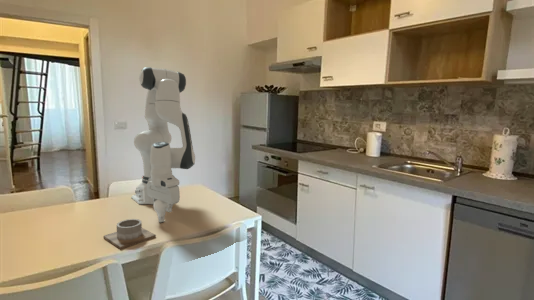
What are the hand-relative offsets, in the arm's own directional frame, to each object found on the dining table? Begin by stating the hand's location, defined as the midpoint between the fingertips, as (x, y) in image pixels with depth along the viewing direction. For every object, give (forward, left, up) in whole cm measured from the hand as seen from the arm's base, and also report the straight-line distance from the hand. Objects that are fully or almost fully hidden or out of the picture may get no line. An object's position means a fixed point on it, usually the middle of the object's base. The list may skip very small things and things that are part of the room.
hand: (163, 209), depth 134 cm
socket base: (+4, -18, -6) cm, 19 cm away
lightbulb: (-1, -1, -6) cm, 6 cm away
